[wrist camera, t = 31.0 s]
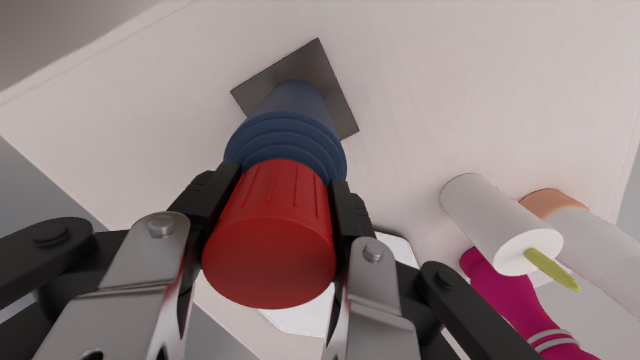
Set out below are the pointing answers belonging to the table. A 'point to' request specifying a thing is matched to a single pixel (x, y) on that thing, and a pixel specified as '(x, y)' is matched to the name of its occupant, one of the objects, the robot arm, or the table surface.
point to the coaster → (306, 67)
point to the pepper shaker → (592, 246)
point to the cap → (273, 238)
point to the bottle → (290, 132)
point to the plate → (329, 298)
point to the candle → (504, 229)
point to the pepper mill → (521, 309)
